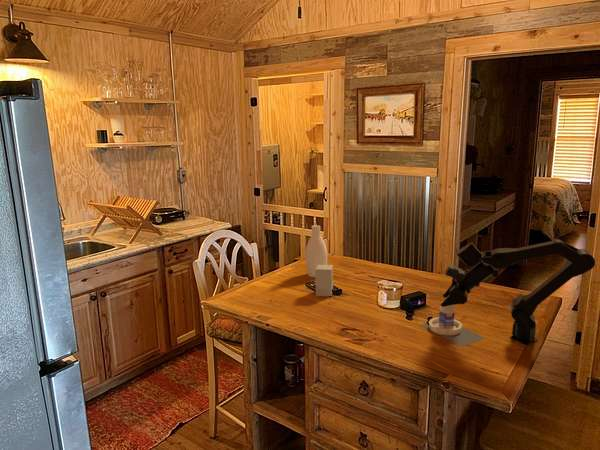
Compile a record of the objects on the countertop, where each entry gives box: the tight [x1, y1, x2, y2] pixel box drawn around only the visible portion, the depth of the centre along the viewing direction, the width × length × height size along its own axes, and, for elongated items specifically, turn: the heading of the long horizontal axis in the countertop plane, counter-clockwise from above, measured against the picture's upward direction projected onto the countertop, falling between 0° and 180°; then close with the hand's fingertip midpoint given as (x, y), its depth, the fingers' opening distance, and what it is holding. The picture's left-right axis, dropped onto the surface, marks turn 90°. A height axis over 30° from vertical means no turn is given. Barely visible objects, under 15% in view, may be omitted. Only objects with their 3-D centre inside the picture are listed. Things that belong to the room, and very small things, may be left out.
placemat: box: [419, 322, 486, 347], centre depth 170 cm, size 20×12×1 cm, turn 31°
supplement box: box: [315, 264, 334, 297], centre depth 209 cm, size 7×7×13 cm
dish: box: [428, 316, 463, 335], centre depth 172 cm, size 12×12×2 cm
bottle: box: [304, 224, 328, 279], centre depth 233 cm, size 11×11×25 cm
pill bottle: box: [438, 300, 456, 329], centre depth 172 cm, size 5×5×10 cm
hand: (442, 301), depth 171 cm, fingers open, 9 cm apart
